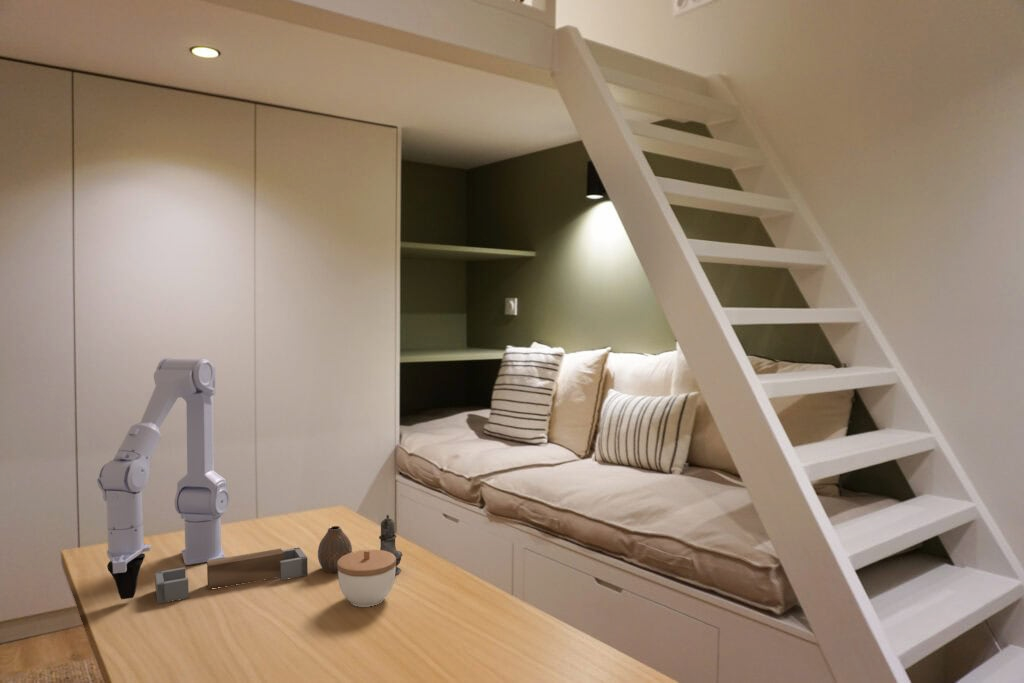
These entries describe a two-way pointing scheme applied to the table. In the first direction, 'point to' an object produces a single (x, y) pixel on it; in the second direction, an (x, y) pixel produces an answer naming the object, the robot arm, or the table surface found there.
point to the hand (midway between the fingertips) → (127, 597)
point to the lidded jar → (366, 576)
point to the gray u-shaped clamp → (171, 585)
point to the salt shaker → (390, 540)
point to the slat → (244, 568)
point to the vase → (333, 548)
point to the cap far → (293, 564)
